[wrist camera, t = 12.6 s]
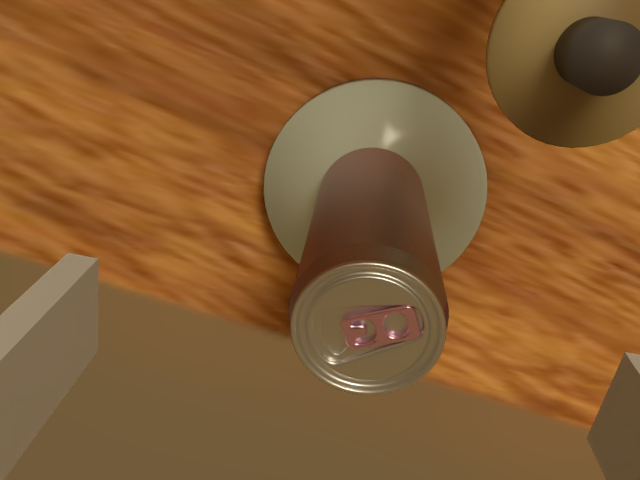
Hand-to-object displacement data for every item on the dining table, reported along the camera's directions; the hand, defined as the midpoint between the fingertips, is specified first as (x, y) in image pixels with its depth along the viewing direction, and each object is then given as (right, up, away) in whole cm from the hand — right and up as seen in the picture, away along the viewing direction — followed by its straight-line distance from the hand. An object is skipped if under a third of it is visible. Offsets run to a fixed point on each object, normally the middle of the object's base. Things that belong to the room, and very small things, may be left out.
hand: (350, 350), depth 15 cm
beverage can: (+2, +6, +20) cm, 21 cm away
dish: (+2, +6, +21) cm, 22 cm away
